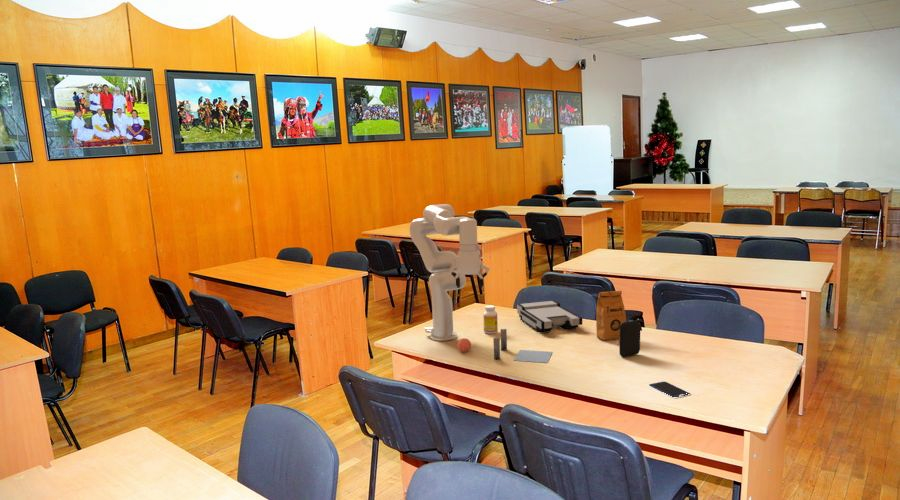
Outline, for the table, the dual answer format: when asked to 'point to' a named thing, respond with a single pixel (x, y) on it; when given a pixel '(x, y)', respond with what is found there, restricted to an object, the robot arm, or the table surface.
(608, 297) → the coffee package
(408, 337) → the table surface
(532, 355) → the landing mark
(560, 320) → the game console
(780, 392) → the table surface
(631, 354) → the carrying case or bag
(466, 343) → the ball
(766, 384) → the table surface
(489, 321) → the supplement bottle
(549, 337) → the table surface
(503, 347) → the post
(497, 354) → the post
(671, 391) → the cell phone
